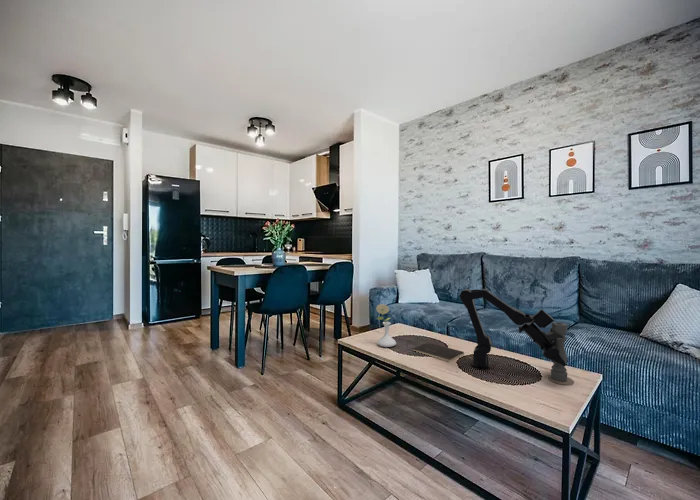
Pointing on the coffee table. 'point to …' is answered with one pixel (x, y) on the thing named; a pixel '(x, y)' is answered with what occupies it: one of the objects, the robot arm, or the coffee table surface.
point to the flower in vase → (386, 339)
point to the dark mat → (568, 382)
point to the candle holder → (557, 369)
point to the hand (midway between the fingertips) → (564, 361)
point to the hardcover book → (438, 351)
